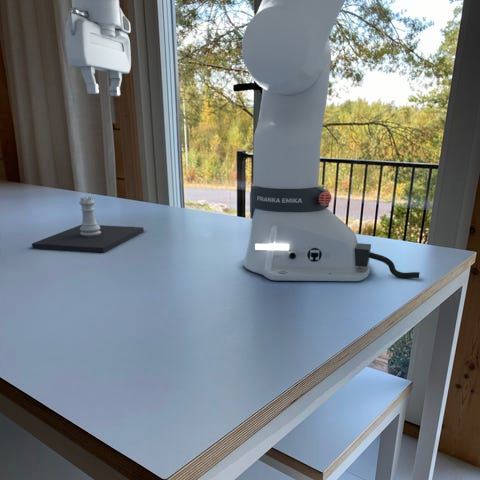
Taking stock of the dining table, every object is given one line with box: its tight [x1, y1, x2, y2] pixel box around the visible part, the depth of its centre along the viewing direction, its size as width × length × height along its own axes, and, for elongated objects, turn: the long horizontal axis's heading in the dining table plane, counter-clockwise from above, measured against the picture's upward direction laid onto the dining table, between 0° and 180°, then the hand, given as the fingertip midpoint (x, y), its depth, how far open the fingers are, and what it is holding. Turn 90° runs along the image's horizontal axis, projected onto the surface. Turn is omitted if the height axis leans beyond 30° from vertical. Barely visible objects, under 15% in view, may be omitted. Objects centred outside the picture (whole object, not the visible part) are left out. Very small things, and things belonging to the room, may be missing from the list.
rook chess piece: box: [78, 196, 101, 237], centre depth 103 cm, size 4×4×8 cm
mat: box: [31, 224, 145, 254], centre depth 105 cm, size 16×20×1 cm
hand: (104, 95), depth 97 cm, fingers open, 8 cm apart
